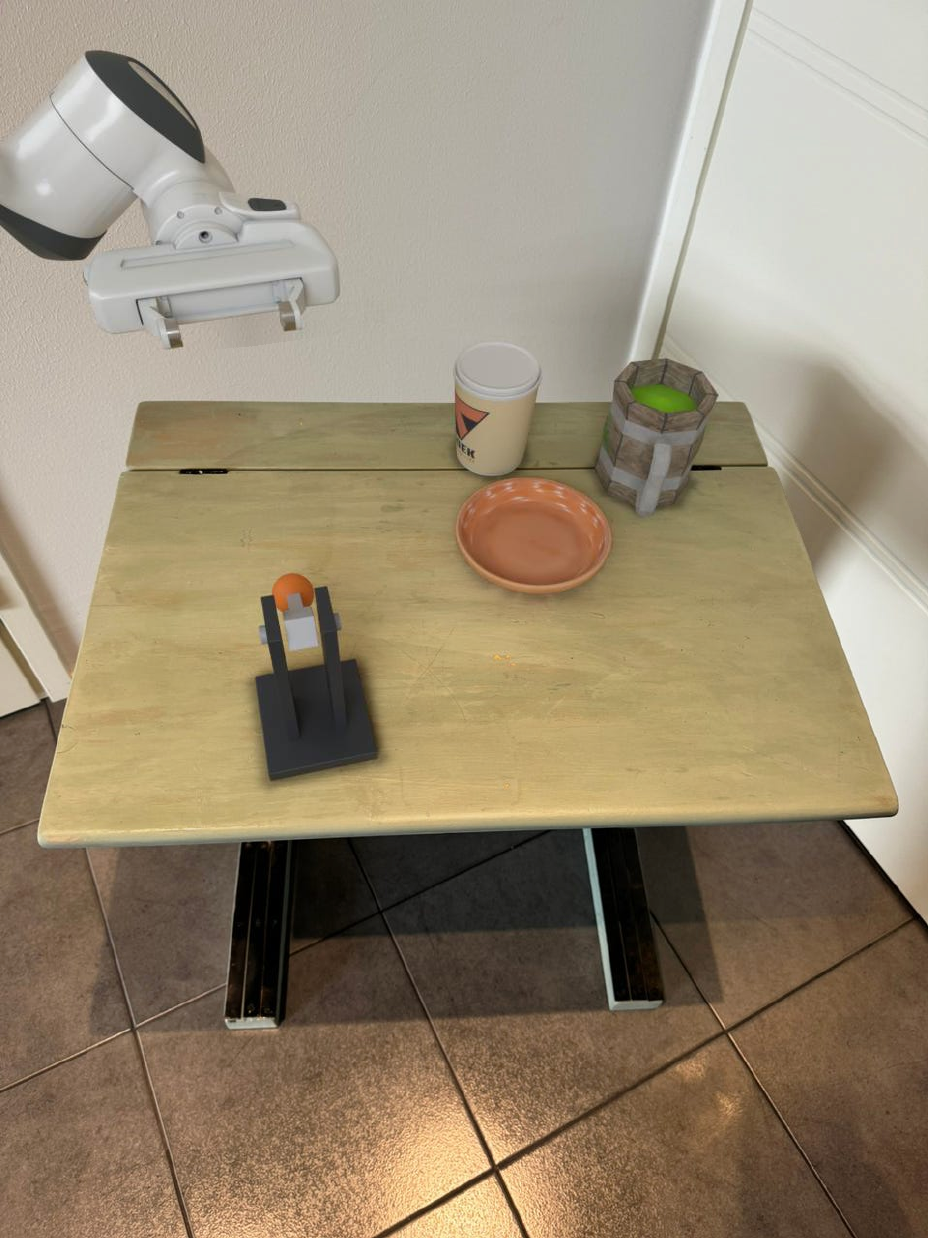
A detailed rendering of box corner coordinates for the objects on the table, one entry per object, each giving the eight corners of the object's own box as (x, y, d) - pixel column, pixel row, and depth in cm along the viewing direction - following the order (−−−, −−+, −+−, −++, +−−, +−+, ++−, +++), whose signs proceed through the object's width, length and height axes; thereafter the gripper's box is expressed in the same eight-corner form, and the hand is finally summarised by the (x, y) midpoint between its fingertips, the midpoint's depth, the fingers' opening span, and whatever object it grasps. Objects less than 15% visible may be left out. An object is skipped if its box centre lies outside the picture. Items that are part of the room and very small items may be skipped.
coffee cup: (439, 435, 98) (442, 345, 89) (513, 423, 100) (524, 334, 91) (463, 487, 93) (469, 397, 83) (541, 473, 95) (556, 384, 85)
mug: (596, 439, 99) (616, 351, 90) (687, 452, 99) (717, 364, 89) (588, 531, 89) (609, 442, 80) (689, 546, 89) (722, 459, 79)
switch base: (256, 684, 75) (229, 573, 63) (355, 665, 77) (346, 555, 65) (270, 781, 69) (242, 679, 57) (377, 759, 71) (371, 655, 59)
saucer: (434, 583, 83) (435, 562, 81) (478, 482, 93) (480, 461, 91) (590, 624, 81) (595, 604, 79) (619, 516, 91) (624, 496, 89)
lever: (274, 611, 74) (267, 572, 73) (315, 604, 74) (309, 566, 73) (281, 660, 62) (272, 614, 60) (329, 652, 62) (322, 606, 61)
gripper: (69, 224, 69) (82, 313, 61) (313, 198, 74) (355, 276, 66) (91, 296, 74) (106, 387, 66) (319, 266, 79) (358, 347, 71)
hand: (233, 331), depth 66 cm, fingers open, 8 cm apart
